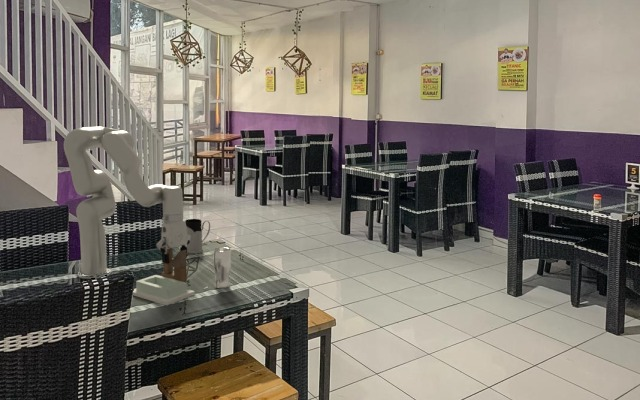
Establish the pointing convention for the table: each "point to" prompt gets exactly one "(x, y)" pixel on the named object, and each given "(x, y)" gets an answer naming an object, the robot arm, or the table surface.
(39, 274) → the table surface
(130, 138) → the robot arm
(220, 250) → the beer glass
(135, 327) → the table surface
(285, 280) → the table surface
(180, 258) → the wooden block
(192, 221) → the grey handled cylinder
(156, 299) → the end cap
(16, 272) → the table surface
